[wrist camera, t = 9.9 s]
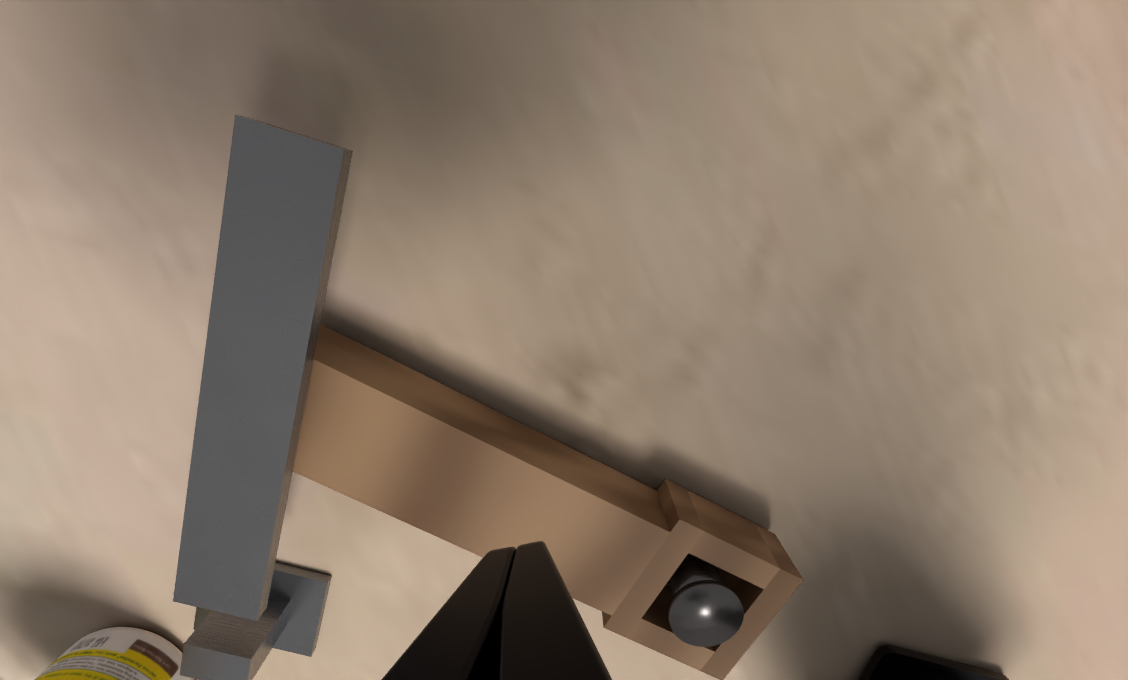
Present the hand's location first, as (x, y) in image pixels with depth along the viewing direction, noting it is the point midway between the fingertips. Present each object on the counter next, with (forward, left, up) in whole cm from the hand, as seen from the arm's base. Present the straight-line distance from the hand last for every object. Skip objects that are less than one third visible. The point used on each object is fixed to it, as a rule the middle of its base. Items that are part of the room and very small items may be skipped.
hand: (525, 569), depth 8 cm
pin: (-8, +7, -12) cm, 16 cm away
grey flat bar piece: (+8, +6, -12) cm, 16 cm away
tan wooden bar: (-1, +5, -12) cm, 13 cm away
